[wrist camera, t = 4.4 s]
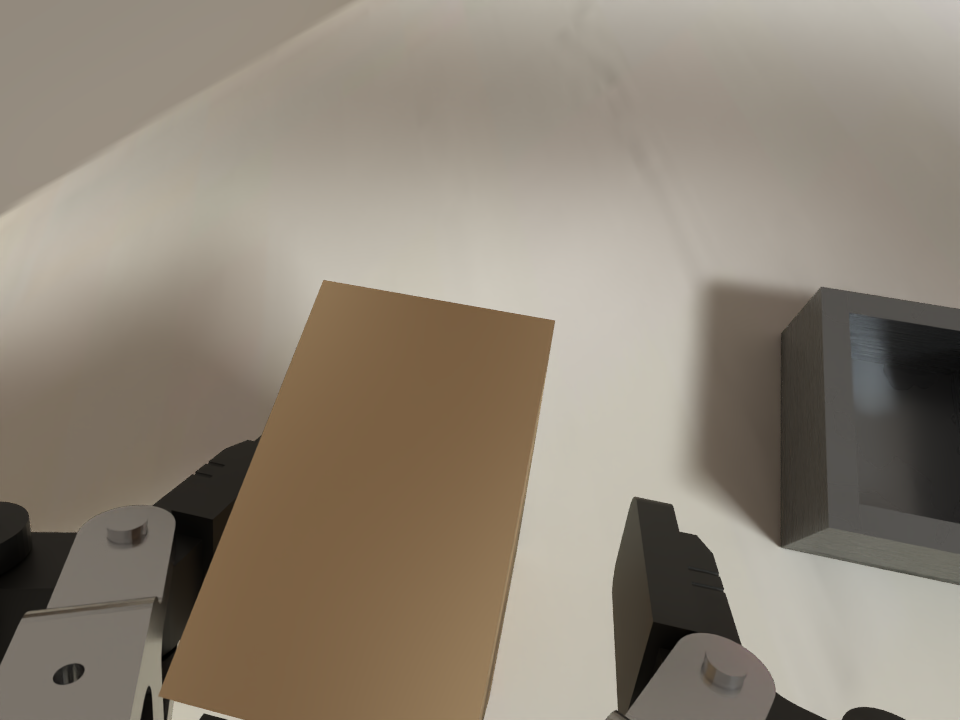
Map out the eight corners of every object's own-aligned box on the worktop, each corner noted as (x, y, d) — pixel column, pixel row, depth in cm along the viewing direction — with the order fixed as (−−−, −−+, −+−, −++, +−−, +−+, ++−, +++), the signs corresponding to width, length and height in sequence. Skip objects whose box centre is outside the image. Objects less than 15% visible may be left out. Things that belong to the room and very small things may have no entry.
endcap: (964, 364, 21) (1031, 320, 18) (997, 592, 18) (1085, 579, 15) (781, 333, 22) (821, 287, 19) (780, 547, 19) (828, 527, 16)
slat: (516, 551, 19) (554, 319, 6) (489, 696, 17) (466, 780, 5) (437, 534, 19) (324, 280, 7) (403, 674, 17) (158, 697, 5)
